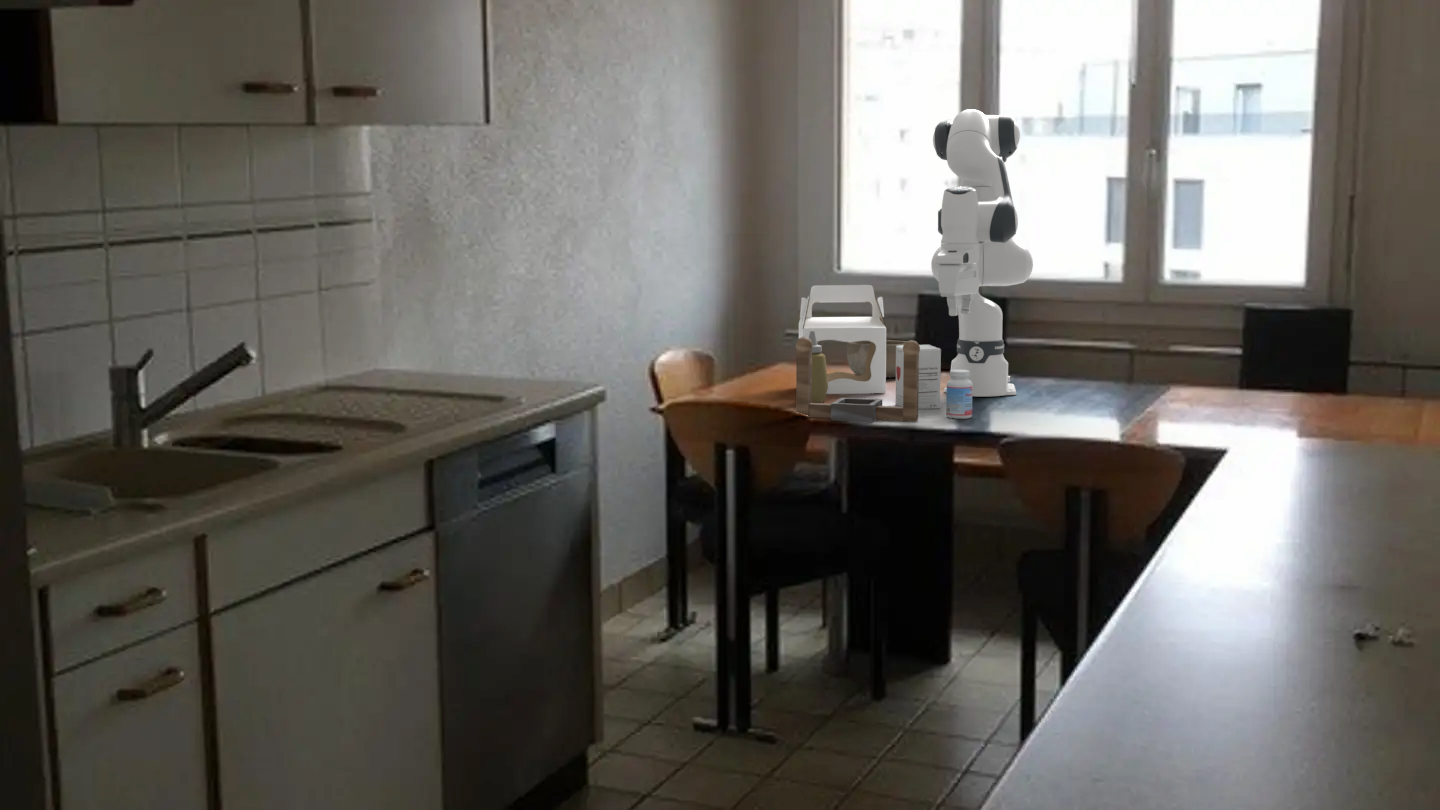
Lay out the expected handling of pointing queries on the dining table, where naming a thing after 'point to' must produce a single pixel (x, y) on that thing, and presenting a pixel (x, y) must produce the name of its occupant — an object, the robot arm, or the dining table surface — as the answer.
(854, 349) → the bowl
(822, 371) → the squeeze bottle
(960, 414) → the pill bottle
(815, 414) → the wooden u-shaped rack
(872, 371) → the gable box
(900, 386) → the supplement box
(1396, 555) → the dining table surface
